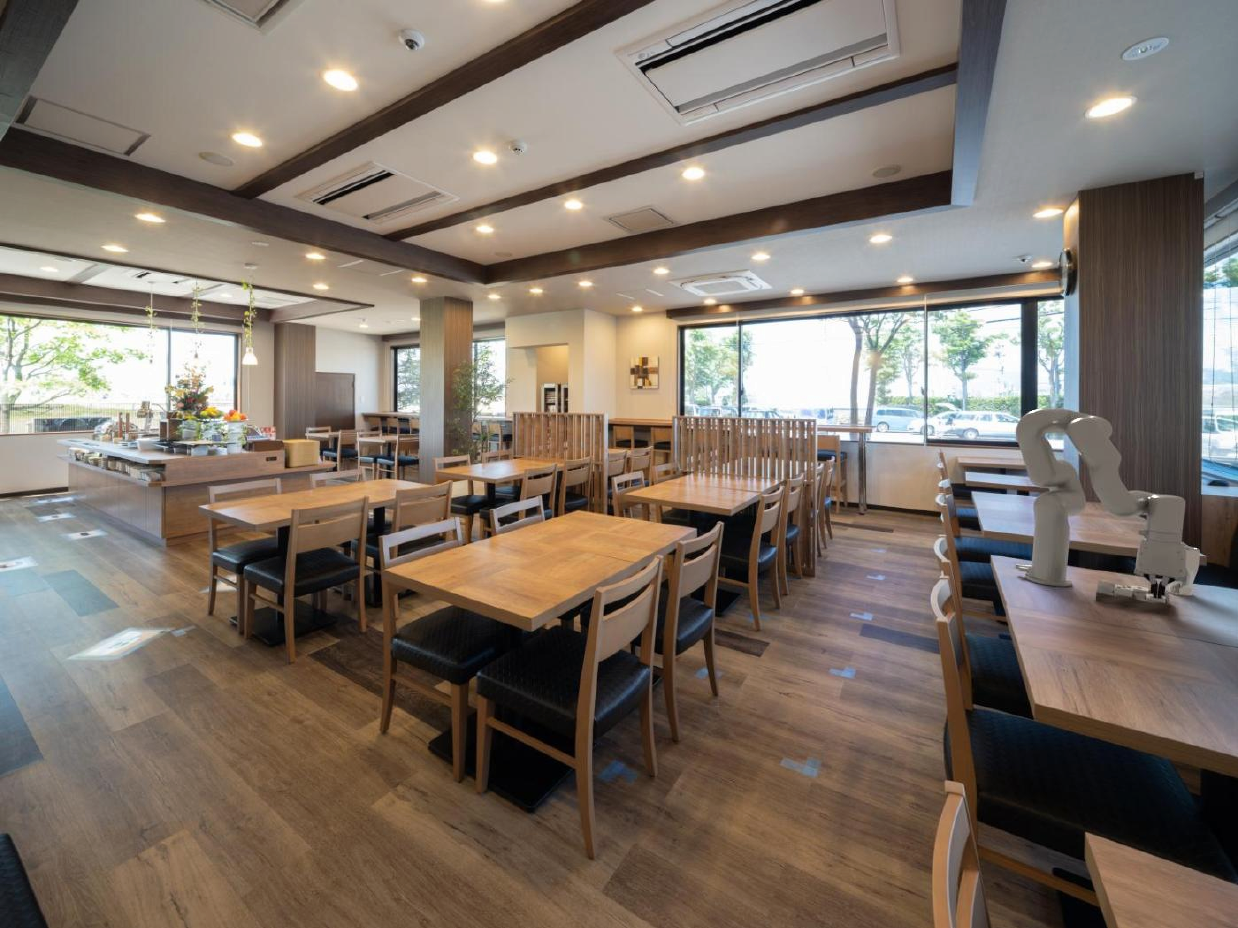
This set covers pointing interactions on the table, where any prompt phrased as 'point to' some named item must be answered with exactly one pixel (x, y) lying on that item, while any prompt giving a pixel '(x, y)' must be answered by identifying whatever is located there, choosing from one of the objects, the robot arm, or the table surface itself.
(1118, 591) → the tile three pips
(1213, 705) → the table surface
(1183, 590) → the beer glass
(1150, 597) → the tile two pips
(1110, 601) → the button board
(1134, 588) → the tile one pip
